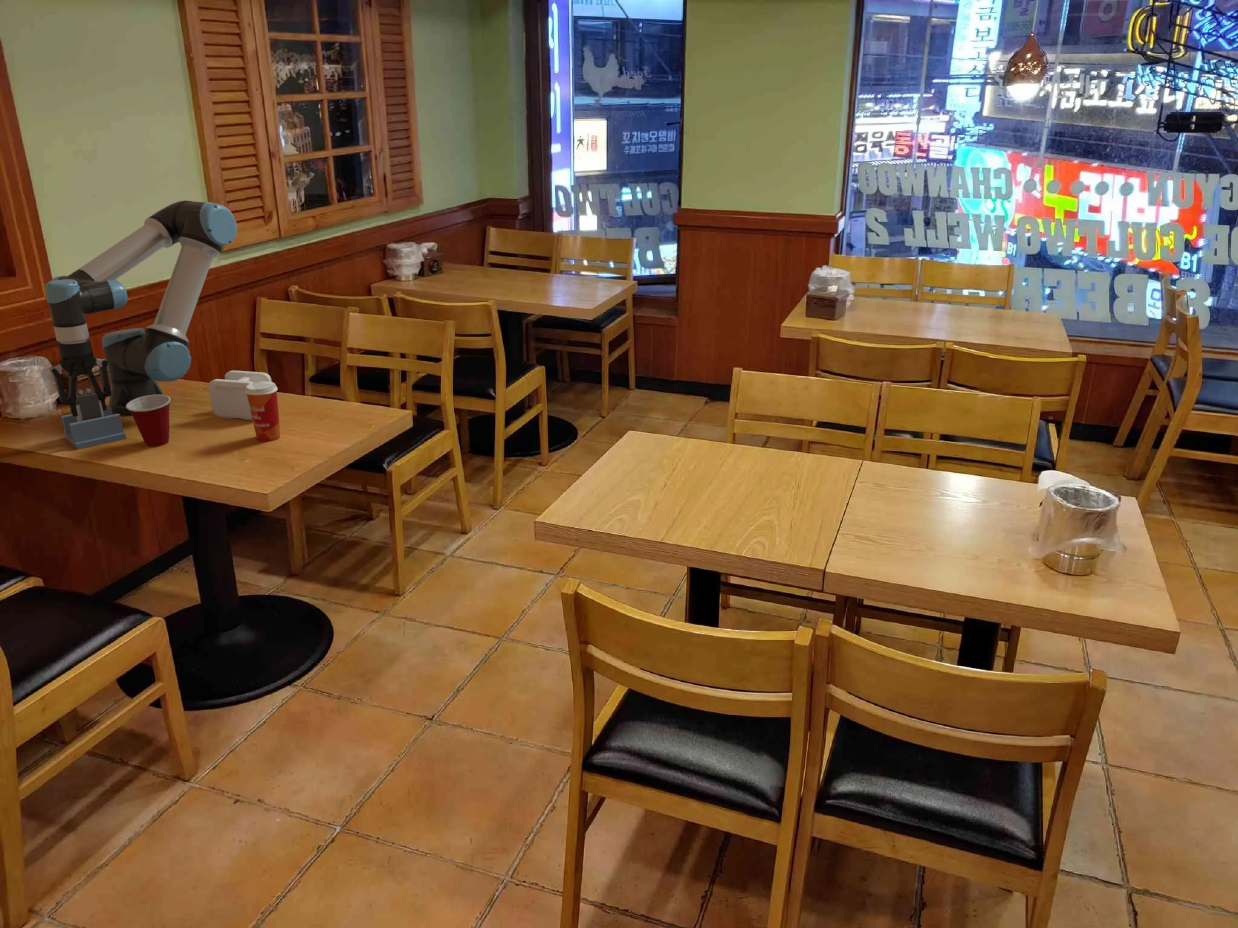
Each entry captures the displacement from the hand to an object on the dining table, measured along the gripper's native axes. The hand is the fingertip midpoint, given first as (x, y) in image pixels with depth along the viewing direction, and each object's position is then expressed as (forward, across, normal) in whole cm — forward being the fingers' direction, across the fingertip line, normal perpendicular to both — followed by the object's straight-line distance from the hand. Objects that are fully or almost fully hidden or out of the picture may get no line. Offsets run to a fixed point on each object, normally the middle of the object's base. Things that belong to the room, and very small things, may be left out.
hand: (92, 424), depth 248 cm
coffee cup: (+4, -35, +31) cm, 47 cm away
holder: (+4, 0, 0) cm, 4 cm away
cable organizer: (+4, -38, +8) cm, 39 cm away
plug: (0, 0, 0) cm, 0 cm away
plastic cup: (+4, -11, +15) cm, 19 cm away
